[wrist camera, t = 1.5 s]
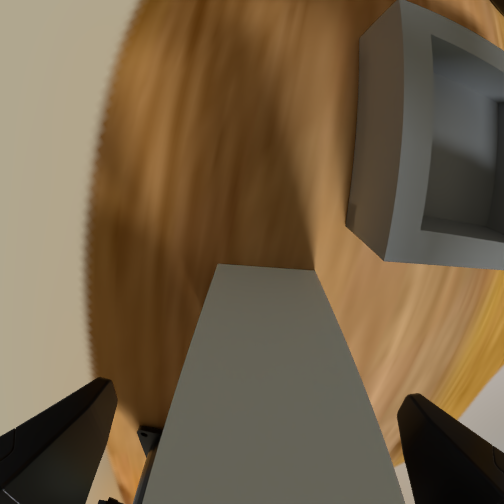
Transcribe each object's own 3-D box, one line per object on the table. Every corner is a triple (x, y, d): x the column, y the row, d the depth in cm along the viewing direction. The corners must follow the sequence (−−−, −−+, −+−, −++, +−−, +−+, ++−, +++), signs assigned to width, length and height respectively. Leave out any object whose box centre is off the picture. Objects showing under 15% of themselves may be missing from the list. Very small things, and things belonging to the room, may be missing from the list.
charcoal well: (482, 243, 11) (533, 272, 8) (345, 226, 11) (384, 261, 8) (496, 92, 9) (550, 87, 5) (359, 38, 9) (399, -2, 5)
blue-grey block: (300, 347, 13) (335, 556, 4) (216, 342, 13) (176, 554, 4) (314, 270, 12) (407, 509, 3) (217, 263, 12) (139, 513, 3)
